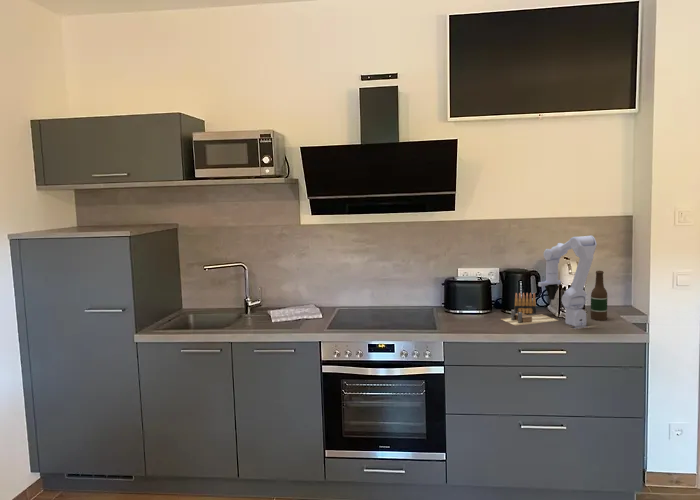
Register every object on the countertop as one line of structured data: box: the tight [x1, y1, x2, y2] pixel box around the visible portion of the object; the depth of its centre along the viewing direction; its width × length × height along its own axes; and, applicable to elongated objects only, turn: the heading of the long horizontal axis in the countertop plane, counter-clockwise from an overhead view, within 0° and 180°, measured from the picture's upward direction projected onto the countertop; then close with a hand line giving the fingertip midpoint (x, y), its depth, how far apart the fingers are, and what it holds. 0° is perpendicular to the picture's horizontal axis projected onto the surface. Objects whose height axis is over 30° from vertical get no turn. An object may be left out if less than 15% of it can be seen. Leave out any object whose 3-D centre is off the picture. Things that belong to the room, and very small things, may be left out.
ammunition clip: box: [514, 292, 537, 315], centre depth 303 cm, size 11×2×12 cm, turn 78°
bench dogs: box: [510, 308, 522, 323], centre depth 287 cm, size 8×2×6 cm, turn 16°
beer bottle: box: [590, 270, 609, 322], centre depth 289 cm, size 8×8×24 cm
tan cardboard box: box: [515, 313, 532, 323], centre depth 288 cm, size 8×5×2 cm, turn 16°
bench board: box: [500, 313, 559, 326], centre depth 289 cm, size 14×24×1 cm, turn 106°
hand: (551, 299), depth 296 cm, fingers closed
